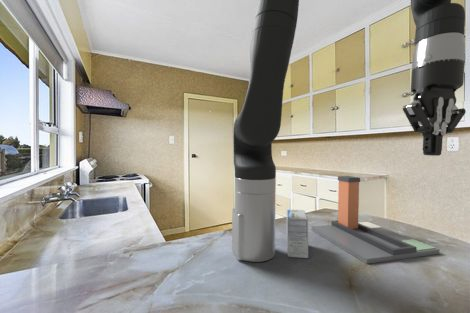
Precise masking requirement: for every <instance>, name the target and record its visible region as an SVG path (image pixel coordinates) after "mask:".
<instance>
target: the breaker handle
mask: <svg viewBox="0 0 470 313" xmlns="http://www.w3.org/2000/svg"><path fill="white" fill-rule="evenodd" d="M337 181H338V194H337V196H338V200H337V201H338V203H337V220H338V223H340V224H343V225H345V226H347V227H349V228H351V229H356V228H358V223H359V205H360V204H359V202H360V201H359V200H360V182H361V177H359V176H352V175H339V176H337Z"/></svg>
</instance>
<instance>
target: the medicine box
mask: <svg viewBox="0 0 470 313" xmlns="http://www.w3.org/2000/svg"><path fill="white" fill-rule="evenodd" d="M286 247H287V249H286V250H287V257H288V258H289V257H290V258H297V259H299V258H300V259H308V258H309V219H308V216H307V215H306V211H305V210H302V209H287V210H286Z"/></svg>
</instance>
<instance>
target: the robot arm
mask: <svg viewBox="0 0 470 313" xmlns="http://www.w3.org/2000/svg"><path fill="white" fill-rule="evenodd" d="M299 4H300V0H258V1H257V7H256V12H255V16H254V21H253V27H252V30H251V39H250V46H249V47H250V49H249V50H250V51H249V54H250V55H249V57H250V75H249V83H248V87H247V90H246V94H245V98H244V102H243V105H242V107H241V111H240V112H239V114H238V115H237V116H236V117H235V119H234V124H233V131H232V133H233V136H232V138H233V139H232V141H233V167H234V208H232V213H231V216H232V217H231V218H232V219H231V222H232V224H231V226H232V227H231V231H232V232H231V238H232V240H231V249H232V250H233V253H234V255H235V258H236V259H237V260H238V261H245V262H250V263H251V262H252V263H261V262H265V261H269V260H272V259H273V258H274V257H275V254H276V188H277V187H276V180H277V175H276V174H277V169H276V168H277V167H276V165H275V163H274V159H273V152H272V151H273V150H272V149H273V147H272V143H273V142H274V141H275V140H276V138H277V137H278V135H279V132H280V130H281V125H282V124H281V123H282V114H283V113H282V111H283V101H284V100H283V99H284V88H285V82H286V76H287V72H288V69H289V64H290V60H291V55H292V49H293V44H294V40H295V35H296V29H297V23H298V16H299V6H300V5H299ZM410 9H411V12H412V13H411V14H412V18H413V22H414V25H415V33H414V50H413V54H412V62H411V79H410V81H411V82H410V92H411V93H412V94H414V95H413V99H412V102H410V104H406V105H403V107H402V111H403V113H404V115H405V116H406V118H407V121H408V122H409V124H410V126H411V127H412V130H413V132H414V133H420V135H421V137H422V154H423V155H424V156H432V157H433V156H437V157H438V156H440V155H442V151H443V137H444V136H446V134H451V133H453V132H454V131H455V129H456V127H457V126H458V125H459V123H460V122H461V120H462V119H463V117H464V116H465V114H466V113H467V112H466V109H465V108H459V107H458V106H457V105H456V104H457V97H456V91H457V90H458V89H460V88H462V86H463V85H464V80H465V79H464V78H465V60H466V44H465V24H466V11H465V7H464V6H463V5H462V4H460V3H457V2H452V0H410Z"/></svg>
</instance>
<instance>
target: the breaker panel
mask: <svg viewBox="0 0 470 313" xmlns="http://www.w3.org/2000/svg"><path fill="white" fill-rule="evenodd" d="M310 228H311V231H312V232H314V233H315V234H318V235H319V236H321V237H322V238H324V239H325V240H326V241H328V242H330V243H332V244H334V245H335V246H336V247H339V248H340V249H342V250H344V251H345V252H347V253H348V254H349V255H351V256H353V257H354V258H356V259H357V260H360V262H363V263H364V264H373V263H374V264H377V263H383V262H389V261H397V260H402V259H403V260H404V259H410V258H418V257H425V256H432V255H434V256H435V255H439V254H440V252H441V250H440V248H437V247H434V246H432V245H429V244H426V243H425V242H421V241H419V240H417V239H414V238H412V237H408V236H406V235H403V234H400V233H399V232H395V231H394V230H391V229H388V228H385V227H383V226H380V225H378V224H375V223H372V222H370V221H361V222H360V221H358V228H356V229H351V228H349V227H347V226H345V225H343V224H340V223H338V219H337V220H331V223H330V224H326V225H316V226H315V225H314V226H311V227H310Z"/></svg>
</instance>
